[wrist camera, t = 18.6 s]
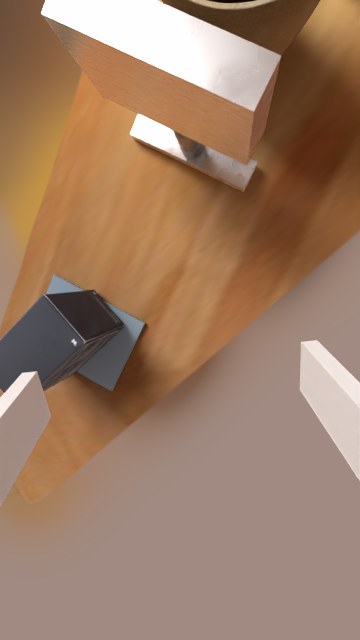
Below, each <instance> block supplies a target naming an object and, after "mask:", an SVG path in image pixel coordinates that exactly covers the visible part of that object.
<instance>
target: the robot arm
mask: <svg viewBox="0 0 360 640" xmlns="http://www.w3.org/2000/svg"><path fill="white" fill-rule="evenodd" d="M300 391H301V392H302V394H303V395H304V397H305V398H306V400H307V401H308V403H309V404H310V406H311V407H312V409H313V411H314V412H315V413H316V415H317V416H318V418H319V420H320V421H321V423H322V424H323V426H324V427H325V429H326V430H327V432H328V433H329V435H330V436H331V438H332V439H333V441H334V442H335V444H336V446H337V447H338V449H339V450H340V451H341V453H342V454H343V456H344V458H345V459H346V461H347V462H348V464H349V465H350V467H351V468H352V470H353V471H354V473H355V474H356V476H357V478H358V479H359V481H360V383H359V382H358V381H357V380H356V379H355V378H354V377H353V376H352V375H351V374H350V373H349V372H348V371H347V370H346V369H345V368H344V367H343V366H342V365H341V364H340V363H339V362H338V361H337V360H336V359H335V358H334V357H333V356H332V355H331V354H330V353H329V352H328V351H327V350H326V349H325V348H324V347H323V346H322V345H321V344H320V343H319V342H318V341H317V340H314V341H306V342H301V366H300ZM50 418H51V414H50V411H49V407H48V404H47V401H46V398H45V395H44V392H43V389H42V385H41V382H40V379H39V376H38V373H37V371H36V372H27V373H22V374H21V375H20V376H19V377H18V378H17V379H16V380H15V382H14V383H13V384H12V385H11V386H10V387H9V389H8V390H7V391H6V392H5V393H4V394H3V395H2V397H1V398H0V507H1V506H2V504H3V502H4V500H5V498H6V497H7V495H8V493H9V491H10V489H11V488H12V486H13V484H14V482H15V481H16V479H17V477H18V475H19V473H20V472H21V470H22V468H23V466H24V465H25V463H26V461H27V459H28V457H29V456H30V454H31V452H32V450H33V449H34V447H35V445H36V443H37V441H38V440H39V438H40V436H41V434H42V432H43V431H44V429H45V427H46V425H47V424H48V422H49V420H50Z"/></svg>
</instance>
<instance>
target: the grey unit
mask: <svg viewBox="0 0 360 640" xmlns="http://www.w3.org/2000/svg"><path fill="white" fill-rule="evenodd" d="M42 15H43V16H44V18H45V19H46V20H47V22H48V23H49V24H50V26H51V27H52V28H53V30H54V31H55V33H56V34H57V35H58V37H59V38H60V39H61V41H62V42H63V44H64V45H65V46H66V47H67V49H68V50H69V52H70V53H71V54H72V56H73V57H74V58H75V60H76V61H77V63H78V64H79V65H80V67H81V68H82V69H83V71H84V72H85V73H86V75H87V76H88V78H89V79H90V80H91V82H92V83H93V84H94V86H95V87H96V88H97V90H98V91H99V92H100V94H101V95H102V97H104V98H106V99H109V100H111V101H113V102H115V103H117V104H119V105H121V106H123V107H125V108H127V109H129V110H132V111H134V112H136V113H138V116H137V118H136V121H135V123H134V125H133V128H132V130H131V133H130V135H131V136H132V137H133V139H134V140H136V141H138V142H140V143H142V144H144V145H146V146H148V147H150V148H153V149H155V150H157V151H159V152H161V153H163V154H165V155H167V156H169V157H171V158H173V159H175V160H177V161H179V162H181V163H183V164H186V165H188V166H190V167H192V168H194V169H196V170H198V171H200V172H202V173H204V174H206V175H208V176H210V177H212V178H214V179H216V180H218V181H221V182H223V183H225V184H227V185H229V186H231V187H233V188H235V189H237V190H239V191H241V192H243V193H244V191H245V189H246V187H247V185H248V183H249V181H250V179H251V177H252V175H253V173H254V171H255V169H256V167H257V164H258V162H257V161H255V160H253V159H251V157H252V155H253V153H254V151H255V149H256V147H257V145H258V143H259V141H260V139H261V137H262V135H263V133H264V131H265V127H266V123H267V118H268V114H269V109H270V105H271V100H272V96H273V91H274V87H275V82H276V78H277V73H278V69H279V64H280V60H281V55H279V54H277V53H274V52H272V51H270V50H268V49H265V48H263V47H261V46H258V45H256V44H254V43H252V42H249V41H247V40H245V39H243V38H240V37H238V36H236V35H234V34H231V33H229V32H227V31H225V30H222V29H220V28H218V27H216V26H213V25H211V24H209V23H206V22H204V21H202V20H200V19H197V18H195V17H193V16H191V15H188V14H186V13H184V12H182V11H179V10H177V9H175V8H173V7H170V6H168V5H166V4H164V3H161V2H159V1H157V0H46V2H45V5H44V8H43V11H42Z"/></svg>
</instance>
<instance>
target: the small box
mask: <svg viewBox="0 0 360 640" xmlns="http://www.w3.org/2000/svg"><path fill="white" fill-rule="evenodd" d="M124 327H125V325H124V323H123V321H122V320H121V319H119V318H118V316H117V315H116V314H115V313H114V312H113V311H112V310H111V309H110V308H109V306H108V305H107V304H106V303H105V302H104V300H103V299H102V298H101V297H100V296H99V295H98V294H97V293H96V292H95V291H94V290H86V291H76V292H66V293H55V294H43V295H42V296H41V297H40V298H39V300H38V301H37V302H36V303H35V304H34V305H33V306H32V307H31V308H30V309H29V310H28V311H27V312H26V313H25V314H24V315H23V316H22V317H21V319H20V320H19V321H18V322H17V323H16V324H15V325H14V326H13V327H12V328H11V329H10V330H9V331H8V332H7V333H6V334H5V335H4V336H3V337H2V338H1V339H0V388H1V390H2V391H3V392H4V393H5V392H6V391H7V390H8V389H9V387H10V386H11V385H12V384H13V383H14V382H15V380H16V379H17V378H18V377H19V376H20V375H21V374H22V373H27V372H36V371H37V373H38V376H39V379H40V382H41V385H42V389H43V391H45V390H46V389H48V388H50V387H52V386H53V385H55V384H57V383H59V382H60V381H62V380H64V379H66V378H68V377H70V376H71V375H72V374H73V373H75V372H76V371H77V370H78V369H79V368H80V367H81V366H82V365H83V364H84V363H86V362H87V361H88V360H89V359H90V358H91V357H92V356H93V355H94V354H95V353H97V352H98V351H99V350H100V349H101V348H102V347H103V346H104V345H106V343H107V342H109V341H110V340H111V339H112V338H113V337H114V336H115V335H116V334H117V333H118V332H119V331H120V330H121V329H122V328H124Z"/></svg>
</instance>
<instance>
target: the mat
mask: <svg viewBox="0 0 360 640" xmlns="http://www.w3.org/2000/svg"><path fill="white" fill-rule="evenodd" d="M76 291H85V290H83V289H82V288H80V287H78V286H76V285H74V284H72V283H70V282H69V281H67V280H65V279H63V278H61V277H59V276H57V275H54V276H53V278H52V281H51V283H50V286H49V288H48V291H47V293H46V294H55V293H66V292H76ZM104 302H105V303H106V304H107V305H108V306H109V308H110V309H111V310H112V311H113V312H114V313H115V314H116V315H117V316H118V318H119V319H121V320H122V321H123V323H124V325H125V327H124V328H122V329H121V330H120V331H119V332H118V333H117V334H116V335H115V336H114V337H113V338H112V339H111V340H110V341H109V342H107V343H106V345H104V346H103V347H102V348H101V349H100V350H99V351H98V352H97V353H95V354H94V355H93V356H92V357H91V358H90V359H89V360H88V361H87V362H86V363H84V364H83V365H82V366H81V367H80V368H79V369H78V370H77V371H76V372H78V373H79V374H81V375H83V376H85V377H86V378H88V379H90V380H92V381H94V382H95V383H97V384H99V385H101V386H102V387H104V388H106V389H108V390H110V391H112V390H113V389H114V387H115V385H116V383H117V381H118V379H119V377H120V375H121V373H122V371H123V369H124V366H125V364H126V362H127V360H128V358H129V356H130V354H131V352H132V350H133V348H134V346H135V344H136V342H137V340H138V338H139V336H140V334H141V331H142V329H143V327H144V325H145V322H143V321H141V320H139V319H137V318H136V317H134V316H132V315H130V314H128V313H126V312H124V311H123V310H121V309H119V308H117V307H115V306H113V305H111V304H110V303H108V302H106V301H104Z"/></svg>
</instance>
